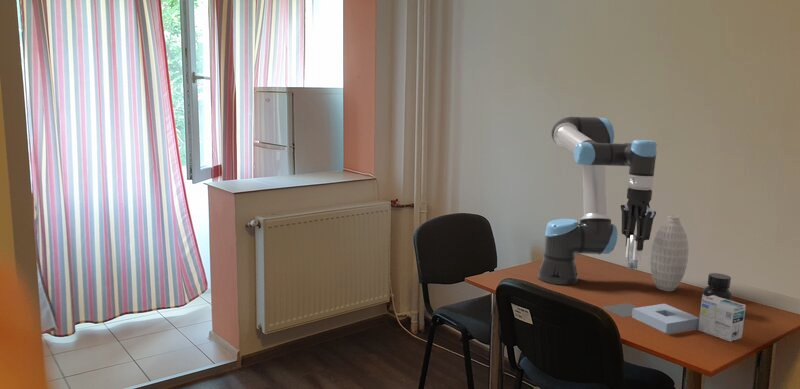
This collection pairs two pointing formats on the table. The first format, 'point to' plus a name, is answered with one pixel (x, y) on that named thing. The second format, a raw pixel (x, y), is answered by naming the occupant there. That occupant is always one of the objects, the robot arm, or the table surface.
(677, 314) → the socket block
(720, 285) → the ink bottle
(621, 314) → the mat
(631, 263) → the pin
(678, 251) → the vase
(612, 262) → the table surface
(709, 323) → the light bulb box
